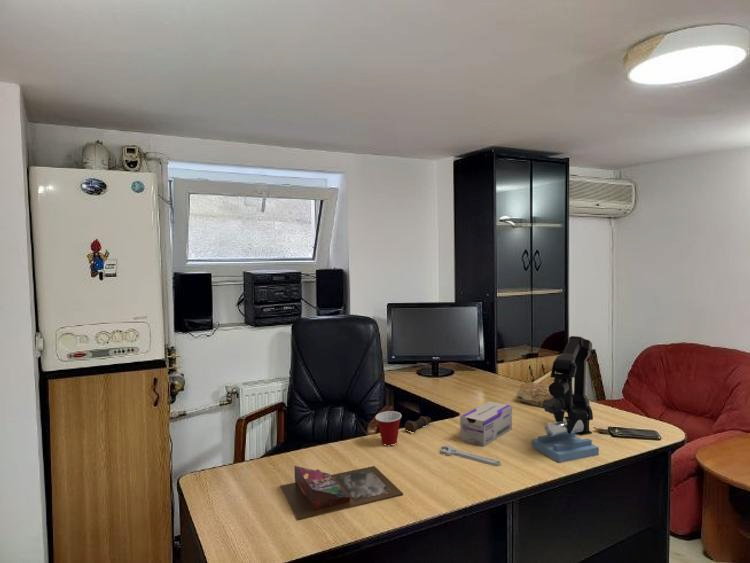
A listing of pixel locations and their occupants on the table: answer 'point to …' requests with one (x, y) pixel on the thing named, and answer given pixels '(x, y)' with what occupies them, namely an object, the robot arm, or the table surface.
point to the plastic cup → (388, 426)
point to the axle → (562, 428)
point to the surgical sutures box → (485, 423)
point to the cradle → (565, 447)
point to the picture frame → (336, 490)
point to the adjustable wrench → (468, 455)
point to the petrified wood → (533, 393)
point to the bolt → (417, 423)
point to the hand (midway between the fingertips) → (564, 431)
